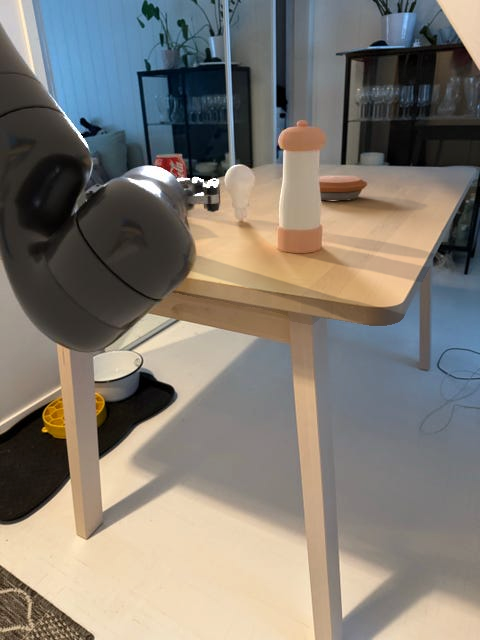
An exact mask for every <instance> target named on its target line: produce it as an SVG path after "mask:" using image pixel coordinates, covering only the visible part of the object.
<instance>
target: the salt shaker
mask: <svg viewBox="0 0 480 640" xmlns="http://www.w3.org/2000/svg"><path fill="white" fill-rule="evenodd" d="M308 124H309V123H308V121H307V120H305V119H302V120H301V119H300V120H298V121H297V122H296V126H291V127H287V128H285V129H283V130H282V131H281V133H280V134H279V135H278V140H277V142H278V145H279V148H280V149H281V150H283V153H282V154H283V155H282V156H283V157H282V158H283V159H282V160H283V161H282V162H283V163H282V184H281V190H280V197H279V203H278V210H279V211H278V212H279V213H278V214H279V218H278V219H279V224H278V225H277V227H276V247H277V250H279V251H281V252H285V253H289V254H308V253H314V252H318V251H320V250H321V249H322V245H323V225H322V224H321V217H322V216H321V214H322V201H321V195H320V185H319V176H320V156H321V155H320V154H321V151H320V149H323V148H324V146H325V144H326V141H327V140H326V139H327V138H326V135H325V133H324V131H323V130H322V129H321V128H318V127H317V126H308Z"/></svg>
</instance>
